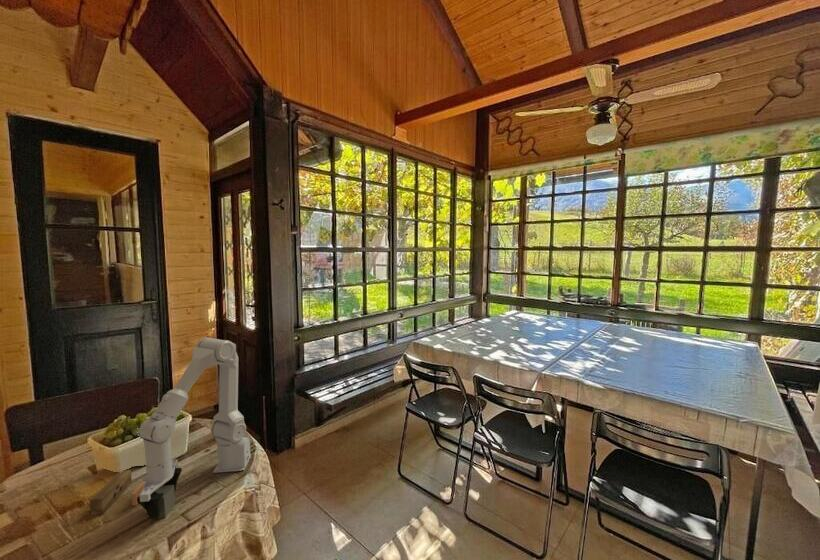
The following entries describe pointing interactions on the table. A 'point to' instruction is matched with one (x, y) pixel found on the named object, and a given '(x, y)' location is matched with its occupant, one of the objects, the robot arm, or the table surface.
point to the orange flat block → (137, 493)
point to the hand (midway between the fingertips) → (162, 506)
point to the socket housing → (110, 492)
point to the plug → (166, 500)
